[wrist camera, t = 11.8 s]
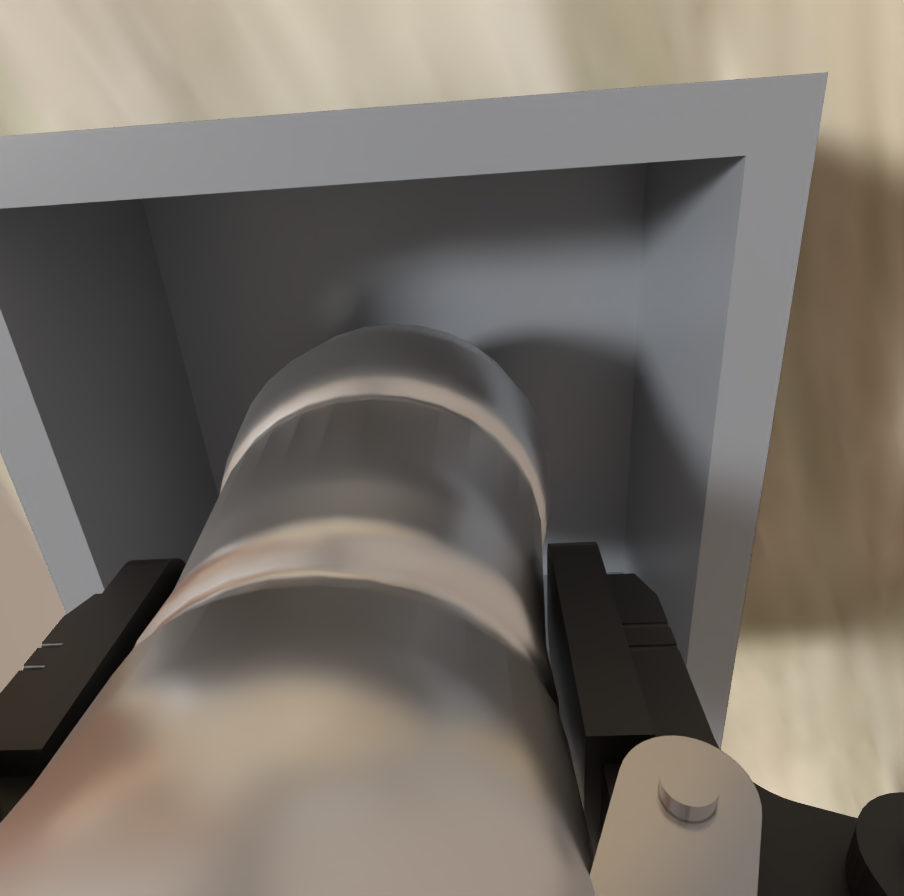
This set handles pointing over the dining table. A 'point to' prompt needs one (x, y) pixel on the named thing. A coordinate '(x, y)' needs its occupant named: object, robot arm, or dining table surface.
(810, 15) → the dining table surface
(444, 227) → the box
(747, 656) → the dining table surface
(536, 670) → the plastic bottle
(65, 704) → the robot arm
